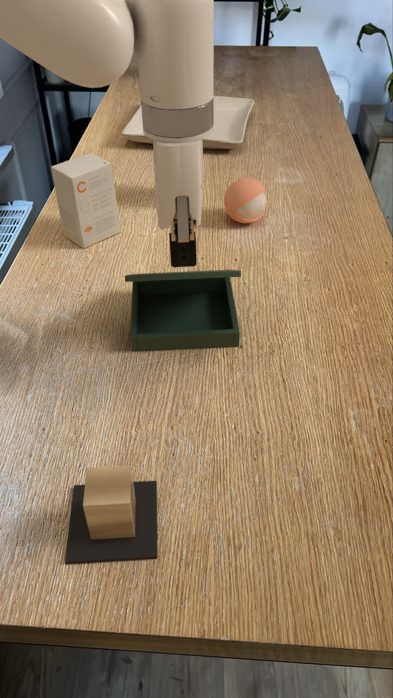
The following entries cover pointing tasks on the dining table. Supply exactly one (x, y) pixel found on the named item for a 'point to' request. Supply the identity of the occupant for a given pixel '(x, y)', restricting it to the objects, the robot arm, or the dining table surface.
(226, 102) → the square plate
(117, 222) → the small box
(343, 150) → the dining table surface
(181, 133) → the robot arm
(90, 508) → the block
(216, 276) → the lid
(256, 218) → the toy ball
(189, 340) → the dark green shallow tray
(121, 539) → the mat
